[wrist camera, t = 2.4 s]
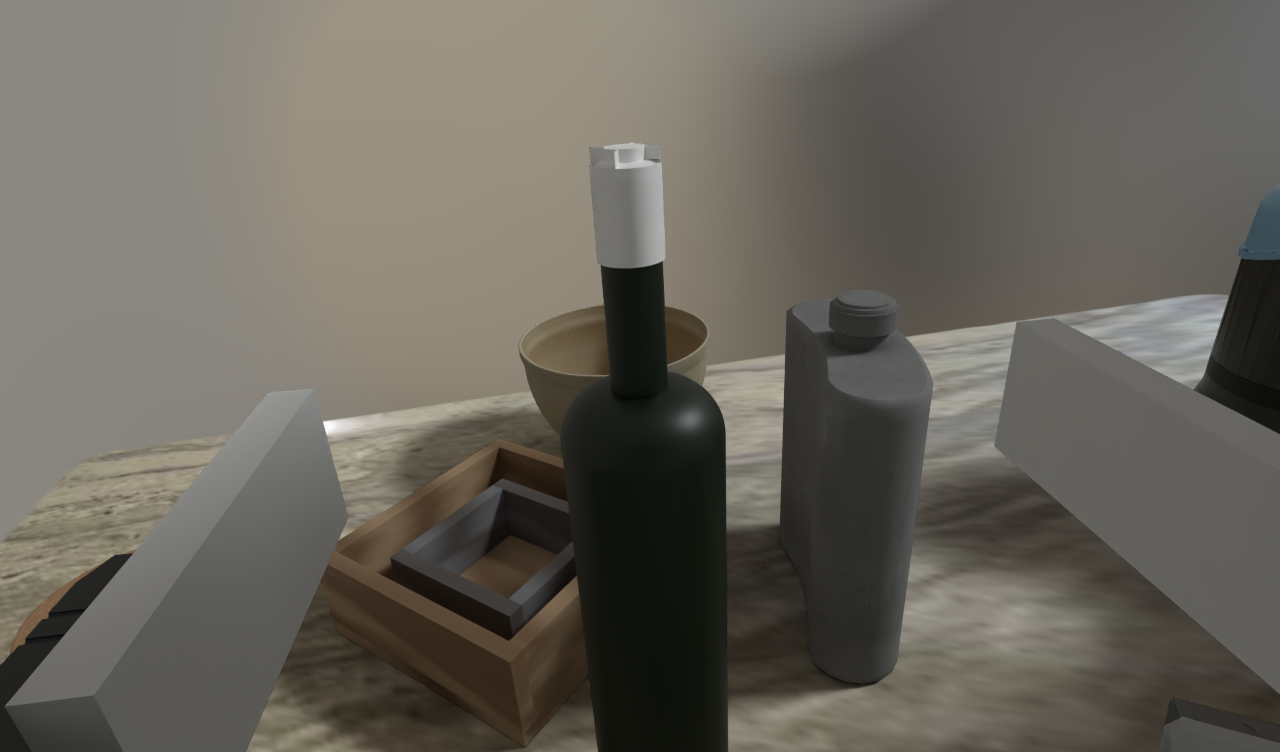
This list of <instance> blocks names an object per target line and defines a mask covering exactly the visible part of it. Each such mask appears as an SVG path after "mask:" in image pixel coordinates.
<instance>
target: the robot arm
mask: <svg viewBox="0 0 1280 752" xmlns="http://www.w3.org/2000/svg"><path fill="white" fill-rule="evenodd" d="M1238 256H1240V257H1241V261H1240V264H1239V267H1238V271H1237V273H1236V277H1235V280H1234V283H1233V286H1232V289H1231V292H1230V295H1229V298H1228V301H1227V305H1226V308H1225V311H1224V314H1223V317H1222V320H1221V323H1220V326H1219V329H1218V333H1217V336H1216V339H1215V342H1214V345H1213V348H1212V352H1211V355H1210V358H1209V361H1208V365H1207V368H1206V371H1205V374H1204V376H1203V378H1202V380H1201V381H1200V382H1199V383H1198V385H1197V386H1196V387H1195V388H1194V390H1192V389H1191V388H1189V387H1187V386H1185V385H1183V384H1181V383H1179V382H1177V381H1175V380H1173V379H1171V378H1169V377H1167V376H1165V375H1163V374H1161V373H1159V372H1157V371H1155V370H1154V369H1152V368H1150V367H1148V366H1146V365H1144V364H1142V363H1140V362H1138V361H1136V360H1134V359H1132V358H1130V357H1128V356H1126V355H1124V354H1122V353H1120V352H1118V351H1117V350H1115V349H1113V348H1111V347H1109V346H1107V345H1105V344H1103V343H1101V342H1099V341H1097V340H1095V339H1093V338H1091V337H1089V336H1087V335H1085V334H1083V333H1081V332H1080V331H1078V330H1076V329H1074V328H1072V327H1070V326H1068V325H1066V324H1064V323H1062V322H1060V321H1058V320H1056V319H1043V320H1033V321H1022V322H1017V323H1016V328H1015V334H1014V340H1013V345H1012V351H1011V356H1010V362H1009V367H1008V373H1007V378H1006V384H1005V390H1004V395H1003V401H1002V406H1001V412H1000V417H999V423H998V428H997V434H996V439H995V445H994V446H995V447H996V448H997V449H998V450H999V451H1000V452H1002V453H1003V454H1004V455H1005V456H1006V457H1007V458H1008V459H1010V460H1011V461H1012V462H1013V463H1014V464H1015V465H1016V466H1018V467H1019V468H1020V469H1021V470H1022V471H1023V472H1025V473H1026V474H1027V475H1028V476H1029V477H1030V478H1031V479H1033V480H1034V481H1035V482H1036V483H1037V484H1038V485H1039V486H1041V487H1042V488H1043V489H1044V490H1045V491H1046V492H1048V493H1049V494H1050V495H1051V496H1052V497H1053V498H1054V499H1056V500H1057V501H1058V502H1059V503H1060V504H1061V505H1062V506H1064V507H1065V508H1066V509H1067V510H1068V511H1069V512H1071V513H1072V514H1073V515H1074V516H1075V517H1076V518H1077V519H1079V520H1080V521H1081V522H1082V523H1083V524H1084V525H1086V526H1087V527H1088V528H1089V529H1090V530H1091V531H1092V532H1094V533H1095V534H1096V535H1097V536H1098V537H1099V538H1100V539H1102V540H1103V541H1104V542H1105V543H1106V544H1107V545H1109V546H1110V547H1111V548H1112V549H1113V550H1114V551H1115V552H1117V553H1118V554H1119V555H1120V556H1121V557H1122V558H1123V559H1125V560H1126V561H1127V562H1128V563H1129V564H1130V565H1132V566H1133V567H1134V568H1135V569H1136V570H1137V571H1138V572H1140V573H1141V574H1142V575H1143V576H1144V577H1145V578H1146V579H1148V580H1149V581H1150V582H1151V583H1152V584H1153V585H1155V586H1156V587H1157V588H1158V589H1159V590H1160V591H1161V592H1163V593H1164V594H1165V595H1166V596H1167V597H1168V598H1169V599H1171V600H1172V601H1173V602H1174V603H1175V604H1176V605H1178V606H1179V607H1180V608H1181V609H1182V610H1183V611H1184V612H1186V613H1187V614H1188V615H1189V616H1190V617H1191V618H1192V619H1194V620H1195V621H1196V622H1197V623H1198V624H1199V625H1201V626H1202V627H1203V628H1204V629H1205V630H1206V631H1207V632H1209V633H1210V634H1211V635H1212V636H1213V637H1214V638H1215V639H1217V640H1218V641H1219V642H1220V643H1221V644H1222V645H1224V646H1225V647H1226V648H1227V649H1228V650H1229V651H1230V652H1232V653H1233V654H1234V655H1235V656H1236V657H1237V658H1239V659H1240V660H1241V661H1242V662H1243V663H1244V664H1245V665H1247V666H1248V667H1249V668H1250V669H1251V670H1252V671H1253V672H1255V673H1256V674H1257V675H1258V676H1259V677H1260V678H1262V679H1263V680H1264V681H1265V682H1266V683H1267V684H1268V685H1270V686H1271V687H1272V688H1273V689H1274V690H1275V691H1276V692H1278V693H1279V694H1280V185H1278V186H1277V187H1275V188H1274V189H1272V190H1271V191H1270V192H1269V193H1267V195H1266V196H1265V197H1264V198H1263V199H1262V201H1261V203H1260V205H1259V206H1258V209H1257V212H1256V215H1255V217H1254V220H1253V223H1252V225H1251V227H1250V230H1249V233H1248V235H1247V238H1246V241H1245V242H1244V243H1243V244H1242V245H1241V246H1240V248H1239V252H1238ZM347 519H348V513H347V510H346V506H345V502H344V498H343V495H342V491H341V487H340V484H339V480H338V476H337V473H336V469H335V465H334V462H333V458H332V454H331V450H330V447H329V443H328V439H327V436H326V432H325V428H324V425H323V421H322V417H321V414H320V410H319V406H318V403H317V399H316V395H315V392H314V389H313V388H312V389H301V390H291V391H280V392H269V393H268V394H267V395H266V396H265V398H264V399H263V400H262V401H261V402H260V404H259V405H258V406H257V407H256V408H255V410H254V411H253V412H252V413H251V414H250V415H249V417H248V418H247V419H246V420H245V421H244V423H243V424H242V425H241V426H240V427H239V428H238V430H237V431H236V432H235V433H234V434H233V436H232V437H231V438H230V439H229V440H228V442H227V443H226V444H225V445H224V446H223V447H222V449H221V450H220V451H219V452H218V453H217V455H216V456H215V457H214V458H213V459H212V461H211V462H210V463H209V464H208V465H207V467H206V468H205V469H204V470H203V471H202V472H201V474H200V475H199V476H198V477H197V478H196V480H195V481H194V482H193V483H192V484H191V486H190V487H189V488H188V489H187V490H186V491H185V493H184V494H183V495H182V496H181V497H180V499H179V500H178V501H177V502H176V503H175V505H174V506H173V507H172V508H171V509H170V510H169V512H168V513H167V514H166V515H165V516H164V518H163V519H162V520H161V521H160V522H159V524H158V525H157V526H156V527H155V528H154V529H153V531H152V532H151V533H150V534H149V535H148V537H147V538H146V539H145V540H144V541H143V543H142V544H141V545H140V546H139V547H138V549H137V550H136V551H135V552H134V553H130V554H121V555H114V556H113V557H111V558H110V559H109V560H107V561H106V562H104V563H103V564H101V565H100V566H99V567H97V568H96V569H94V570H93V571H91V572H90V573H89V574H87V575H86V576H84V577H83V578H81V579H80V580H79V581H77V582H76V583H75V584H74V585H73V586H72V587H71V588H70V589H69V590H68V591H67V593H66V594H65V595H64V596H63V597H62V598H61V599H60V600H59V601H58V603H57V604H56V605H55V606H54V607H53V608H52V609H51V610H50V611H49V612H48V618H47V619H42V620H41V621H40V622H39V624H38V625H37V626H36V627H35V628H34V629H33V630H32V631H31V632H30V633H29V635H28V636H27V637H26V638H25V644H24V645H19V646H18V647H17V648H16V649H15V650H14V651H13V652H12V653H11V654H10V656H9V657H8V658H7V659H6V660H5V661H4V662H3V663H2V664H1V665H0V752H246V750H247V748H248V745H249V743H250V741H251V739H252V736H253V734H254V732H255V729H256V727H257V725H258V723H259V720H260V718H261V716H262V713H263V711H264V709H265V707H266V704H267V702H268V700H269V698H270V695H271V693H272V691H273V688H274V686H275V684H276V682H277V679H278V677H279V675H280V672H281V670H282V668H283V666H284V663H285V661H286V659H287V656H288V654H289V652H290V650H291V647H292V645H293V643H294V640H295V638H296V636H297V634H298V631H299V629H300V627H301V624H302V622H303V620H304V618H305V615H306V613H307V611H308V608H309V606H310V604H311V602H312V599H313V597H314V595H315V593H316V590H317V588H318V586H319V583H320V581H321V579H322V577H323V574H324V572H325V570H326V567H327V565H328V563H329V561H330V558H331V556H332V554H333V551H334V549H335V547H336V545H337V542H338V540H339V538H340V535H341V533H342V531H343V529H344V526H345V524H346V522H347Z"/></svg>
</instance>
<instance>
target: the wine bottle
mask: <svg viewBox="0 0 1280 752" xmlns="http://www.w3.org/2000/svg"><path fill="white" fill-rule="evenodd" d="M590 160H591V162H590V163H591V164H590V165H589V170H590V182H591V193H592V204H593V216H594V227H595V240H596V251H597V262H598V263H599V264H600V265H601V275H602V286H603V298H604V311H605V323H606V335H607V347H608V359H609V370H610V375H608V376H605V377H603V378H601V379H599V380H597V381H595V382H593V383H592V384H590V385H589V386H587V387H586V388H585V389H584V390H582V391H581V392H580V393H579V394H578V395H577V396H576V398H575V399H574V400H573V402H572V403H571V404H570V406H569V408H568V410H567V412H566V414H565V416H564V419H563V423H562V427H561V449H562V458H563V466H564V474H565V482H566V491H567V499H568V507H569V515H570V524H571V532H572V540H573V548H574V557H575V565H576V573H577V581H578V590H579V598H580V606H581V614H582V623H583V631H584V639H585V647H586V656H587V664H588V672H589V680H590V689H591V697H592V705H593V713H594V722H595V730H596V738H597V746H598V752H728V690H727V563H726V435H725V424H724V420H723V416H722V413H721V411H720V409H719V407H718V405H717V403H716V401H715V400H714V399H713V397H712V396H711V395H710V394H709V393H708V391H706V390H705V389H704V388H703V387H702V386H701V385H699V384H698V383H697V382H695V381H693V380H692V379H690V378H688V377H685V376H683V375H680V374H677V373H674V372H670V371H668V367H667V345H666V323H665V304H664V303H665V302H664V279H663V260H664V259H665V257H666V256H665V232H664V209H663V188H662V187H663V186H662V163H661V160H660V146H659V145H658V146H645V145H644V144H634V142H632V143H630V144H617V145H610V146H606V147H590Z"/></svg>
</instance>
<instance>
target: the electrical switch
mask: <svg viewBox="0 0 1280 752" xmlns="http://www.w3.org/2000/svg"><path fill="white" fill-rule="evenodd" d="M1172 701H1173V703H1174V705H1175V707H1176V709H1177V710H1176V709H1175V707H1174V705H1173V704H1172V702H1171V700H1170V703H1169V708H1168V712H1167V717H1166V722H1165V726H1164V730H1163V735H1162V740H1161V744H1160V749H1159V752H1280V725H1277V724H1273V723H1269V722H1265V721H1262V720H1258V719H1254V718H1250V717H1246V716H1242V715H1238V714H1235V713H1231V712H1227V711H1223V710H1219V709H1215V708H1212V707H1208V706H1204V705H1200V704H1196V703H1192V702H1188V701H1185V700H1181V699H1177V698H1173V700H1172ZM1177 711H1178V712H1177ZM1178 713H1179V714H1178ZM1207 713H1210V714H1207Z"/></svg>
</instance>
